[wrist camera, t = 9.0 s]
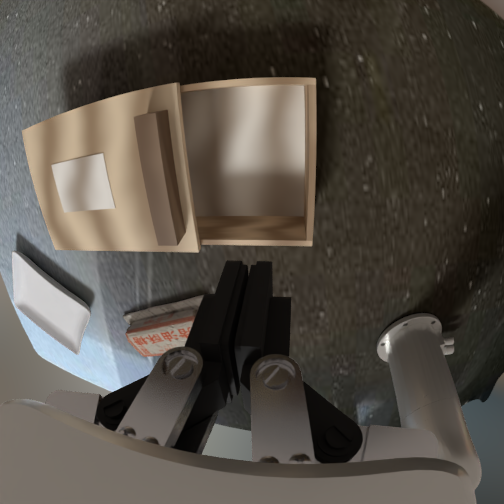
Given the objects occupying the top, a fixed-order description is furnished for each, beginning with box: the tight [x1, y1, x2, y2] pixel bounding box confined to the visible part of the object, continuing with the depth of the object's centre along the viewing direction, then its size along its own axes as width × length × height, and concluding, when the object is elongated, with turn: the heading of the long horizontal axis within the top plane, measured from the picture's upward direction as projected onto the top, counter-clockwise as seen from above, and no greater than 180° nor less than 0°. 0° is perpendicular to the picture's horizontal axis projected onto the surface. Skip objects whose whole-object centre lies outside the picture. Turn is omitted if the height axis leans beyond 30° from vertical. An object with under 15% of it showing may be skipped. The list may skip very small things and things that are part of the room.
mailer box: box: [180, 77, 316, 246], centre depth 27 cm, size 20×16×6 cm
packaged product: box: [123, 295, 204, 357], centre depth 44 cm, size 18×5×10 cm
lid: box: [22, 83, 201, 252], centre depth 25 cm, size 21×17×3 cm
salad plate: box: [12, 251, 91, 355], centre depth 47 cm, size 21×21×3 cm
